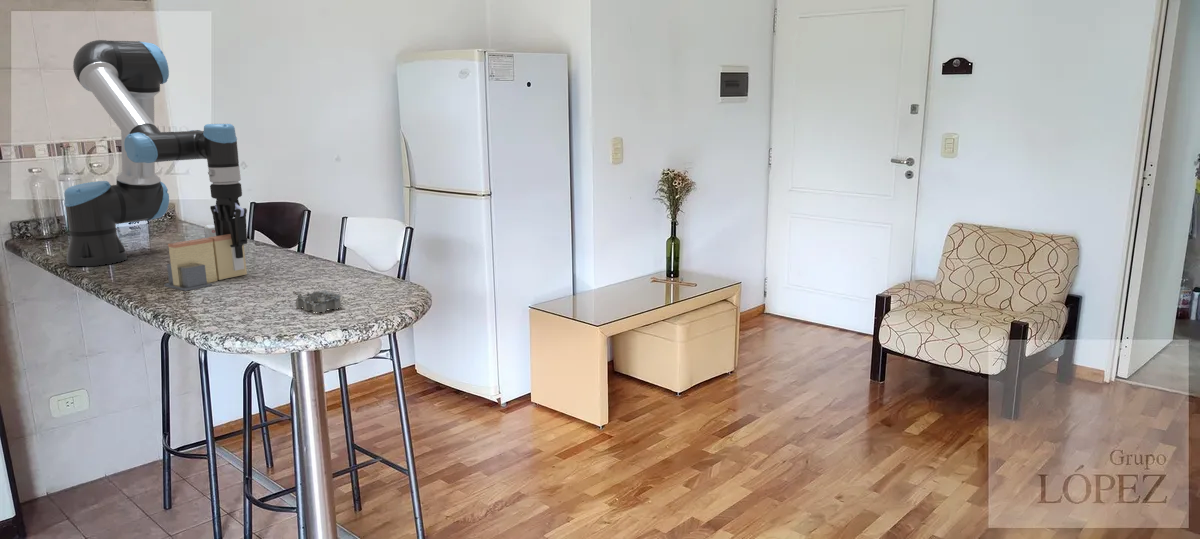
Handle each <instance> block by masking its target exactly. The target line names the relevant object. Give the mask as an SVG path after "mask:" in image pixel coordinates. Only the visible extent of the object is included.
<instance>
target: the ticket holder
mask: <svg viewBox="0 0 1200 539" xmlns="http://www.w3.org/2000/svg"><path fill="white" fill-rule="evenodd" d="M167 247H168V252H169V260H170V263H167V264H166V269H167V278H168V282H166V283H164V284H163V285H164V287H166V288H172V289H175V290H180V291H184V292H187V291H191V290H192V291H193V290H198V289H202V288H207V287H212V286H213V283H214V282H218V280H217V274H216V265H215V257H214V248H213V239H210V238H205V237H202V238H196V239H191V240H183V241H177V242H172V243H171V242H170V243H167Z"/></svg>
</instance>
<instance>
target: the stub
mask: <svg viewBox="0 0 1200 539" xmlns="http://www.w3.org/2000/svg"><path fill="white" fill-rule="evenodd" d="M208 238H210V239H213V248H214V257H215V265H216V274H217V281H218V280H219V281H221V280H224V279H230V278H236V277H241V276H245V275H248V273H247V262H246V251H245V244H244V245H242V250H243V261H244V269H241V270H236V271H234V270H233V262H232V253H231V246H230V245H233V244H232V239H231V234H227V235H221V236H214V237H208Z"/></svg>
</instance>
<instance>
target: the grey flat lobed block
mask: <svg viewBox="0 0 1200 539" xmlns="http://www.w3.org/2000/svg"><path fill="white" fill-rule="evenodd" d="M292 294H294V295H295V296H297V297H296V299H295V306H296V309H298V308H302V307H303V308H302V309H303V310H304V311H305V310H313V311H312V313H313V312H315V313H316V312H325V311H326V310H327V309H337V308H339V307H340V306H341V307H342V303H341V296H342V294H338V293H336V292H332V291H331V292H329V291H328V290H327V289H321V290H319V291H313V292H312V293H310V292H307V293H306V296H303V295H302V293H301V292H297V291H293V292H292ZM314 302H317V303H314ZM339 309H340V308H339ZM326 312H327V311H326ZM315 313H314V314H315ZM316 314H317V313H316Z"/></svg>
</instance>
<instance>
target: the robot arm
mask: <svg viewBox="0 0 1200 539" xmlns="http://www.w3.org/2000/svg"><path fill="white" fill-rule="evenodd" d="M72 64H73V66H72V68H73V72H74V73H73V74H74V75H75V78H76V80H77V81H78V83H79V84H80V85H81V87H82V88H83V89H84V90H86V91H88V92H90V93H92V94H93V95H94V97H95V99H96V100H97V101H98V102H99V103H100V105H101V106H102V108H104V111H106V113H107V114H108V116H110V119H112V121H113V122H114V123H115V124H116V126H117V127H118V128H119V130H120V136H121V138H120V139H121V172H120V173H118V175H116V183H115V184H113V185H111V183H110V181H107V180H98V181H90V182H83V183H78V184H75V185H72V186H69V187H67V188H66V189H65V190H64V192H63V195H64V207H65V210H66V217H67V222H68V223H67V225H68V231H69V235H70V236H69V237H70V240H69V245H68V249H67V253H66V263H67V266H70V267H76V266H86V267H97V266H99V265H100V266H106V265H105V264H107V265H112V263H113V264H117V263H116V262H118V263H122V262H124V260H125V261H126V260H127V259H128V255H127V250H126V249H125V247H124V245H123V243H122V242H121V239H120V237H119V236H118V233H117V226H116V225H119V224H127V223H135V222H136V223H137V222H148V221H153V220H156V219H160V218H162V217H163V216H165V214H166V213H167V211H168V208H169V205H170V195H169V194H170V193H168V191H169V190H168V188H167V186H166V184H165V183H164V182H163V181H161V177H159V175H158V174H156V169H155V168H156V167H155V165H156V164H155V163H161V162H175V161H192V160H206V162H207V168H208V169H207V170H208V171H207V173H208V174H207V175H208V180H209V182H210V183H211V184H210V185H209V187H210V188H209V189H210V196H211V198H212V199H214V200H215V199H216V201H215V204H214V205H210V208H209V209H210V211H211V213H212V218H213V225H214V226H215V232H216V236H221V235H227V234H231V239H232V244H233V245H230V246H231V253H232V262H233V270H234V271H236V270H241V269H244V261H243V250H242V245H244V246H245V245H246V244H247V243H248V234H247V233H248V232H247V231H248V230H247V212H248V210H247V208H246V207H244V208H243V207H242V206H241V203H240V202H239V198H241V197H242V196H243V190H242V183H241V182H240V181H241V180H242V178H241V170H240V164H239V162H240V161H239V151H238V150H239V149H238V141H237V140H238V138H237V134H236V128H235V126H234V125H233V124H231V123H207V124H204V126H203V130H200V129H194V130H193V129H192V130H187V131H182V130H181V131H161V130H160V129H159V128H158V127H157V126H156V124H155V96H157V95H158V94H159V93H160V92H161V85H164V84H166V83H167V81H168V79H169V77H170V76H169V75H170V70H169V69H170V68H169V63H168V62H167V58H166V56H165V54H164V52H163V51H162V49H161V48H160V47H159V46H158V45H156V44H154V43H152V42H145V41H138V40H137V41H134V40H130V41H129V40H106V39H97V40H93V41H89V42H87V43H85V44H84V45H82V46H81V47H80V48H79V49H78V50H77V52H76V54H75V56H74V58H73V63H72ZM121 261H122V262H121Z"/></svg>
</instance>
